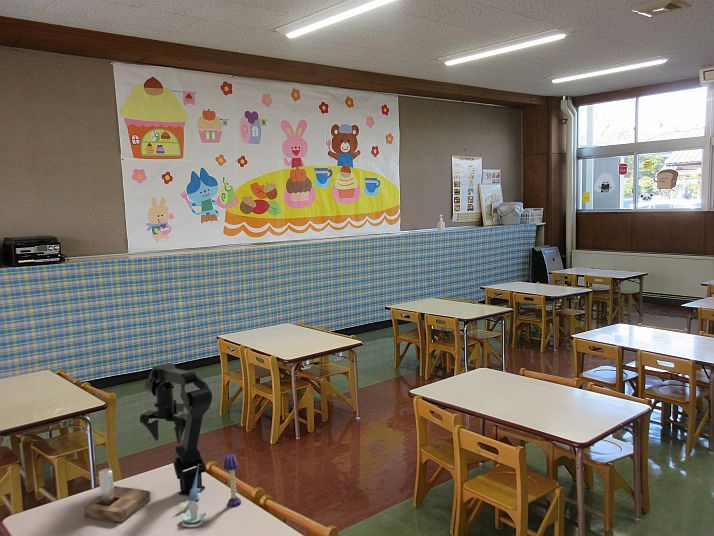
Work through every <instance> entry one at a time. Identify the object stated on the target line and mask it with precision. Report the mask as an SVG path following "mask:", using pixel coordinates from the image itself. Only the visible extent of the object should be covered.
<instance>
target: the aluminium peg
mask: <svg viewBox="0 0 714 536" xmlns="http://www.w3.org/2000/svg"><path fill="white" fill-rule="evenodd" d="M98 477H99V479H98V480H99V481H98V482H99V491H100V492H99V493H100V495H101V505H103V506H110V505H112V504H113V503H114V502H115V495H114V486H115V485H114V474H113V469H112V468H110V467H109V468H108V467H107V468H106V467H105V468H103V469H100V470H98Z"/></svg>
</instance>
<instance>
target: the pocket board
mask: <svg viewBox="0 0 714 536" xmlns="http://www.w3.org/2000/svg"><path fill="white" fill-rule="evenodd" d="M114 495H115V502H114V503H113V504H112V505H110V506H103V505H101V494H100V495H99V496H98V497H96V498H95V499H93V500H91V501H90V502H89V503H87V504H86V505H84V506H83V513H84V514H83V515H84V519H85V518H86V519H92V520H98V521H103V522H104V521H105V522H112V523H117V524H123V523H124V522H126V521H128V519H130V518H131V517H132V516H133V515H135V514H136V513H137V512H138V511H140V510H141V509H143V507H144V506H146V505H147V504H148V503H150V502H151V492H150V490H144V489H139V488H130V487H124V486H123V487H122V486H118V485H117V486H116V485H114Z"/></svg>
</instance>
